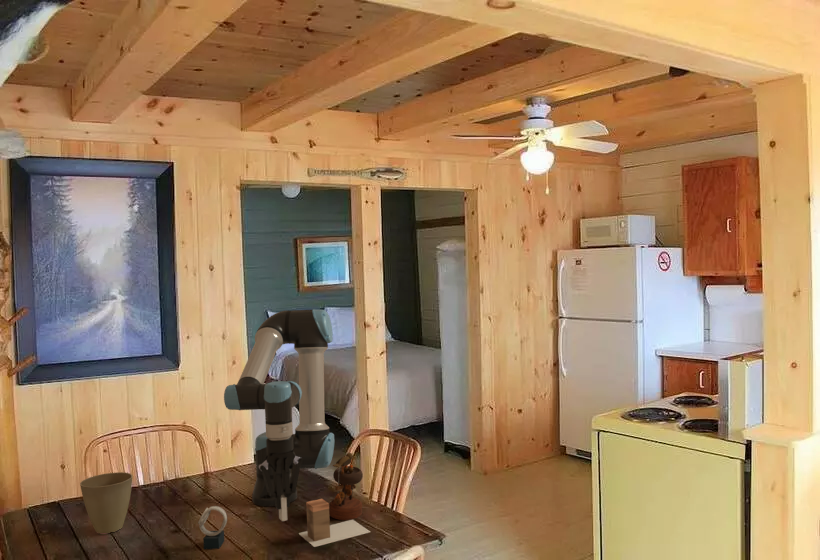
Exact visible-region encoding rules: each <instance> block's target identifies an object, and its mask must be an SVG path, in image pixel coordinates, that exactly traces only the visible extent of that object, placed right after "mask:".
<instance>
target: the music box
mask: <svg viewBox="0 0 820 560" xmlns="http://www.w3.org/2000/svg"><path fill="white" fill-rule="evenodd" d="M353 459H354V454H353V453H351V452H348V453H346V455H344V456H342V457H340V458H339V459H337V461H336V462H335V464H332V467H336V469H335V470H334V471H333V474H332V475H333V477H332V478H333V480H334V481H335V483H337V485H335V487H334V488H335V490H334V491H337V494H336V496H335V497H334V499H332V500H331V501H330V502H329V517H331V518H333V519H335V520H339V521H340V520H341V521H349V520H355V519H357V518H360V517H361V516H362V514H363V503H362V501H360V499H358V498H355V497H353V491H354V489H356V488H357V486H356V485H357V484H359V483H360V482H361V481H362V479H363V477H364V476H363V470H361V468H359V467H356V466H353V464H351V463H352V462H353ZM340 490H341V491H340ZM339 491H340V492H339Z"/></svg>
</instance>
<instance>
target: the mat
mask: <svg viewBox="0 0 820 560" xmlns="http://www.w3.org/2000/svg"><path fill="white" fill-rule="evenodd" d="M369 533H371V531H370V530H368V529H367V528H366V527H365V526H363V525H362V524H360V523H358V522H357V521H356V520H355V519H351V520H344V521H342V522H338V523H333V524H330V538H326V539H322V540H318V541H313V540H312V539H311V538H310V537H308V532H307V530H306V531H302V532H299V533H298V534H299V536H300V537H302V538H303V539H304V540H305V541H306V542H308V543H309V544H311V546H312V547H314V548H316V547H319V546H320V547H321V546H324V545H327V544H330V543H332V544H333V543H334V542H340V541H343V540H347V539H350V538H353V537H357V536H362V535H364V534H369Z"/></svg>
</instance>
